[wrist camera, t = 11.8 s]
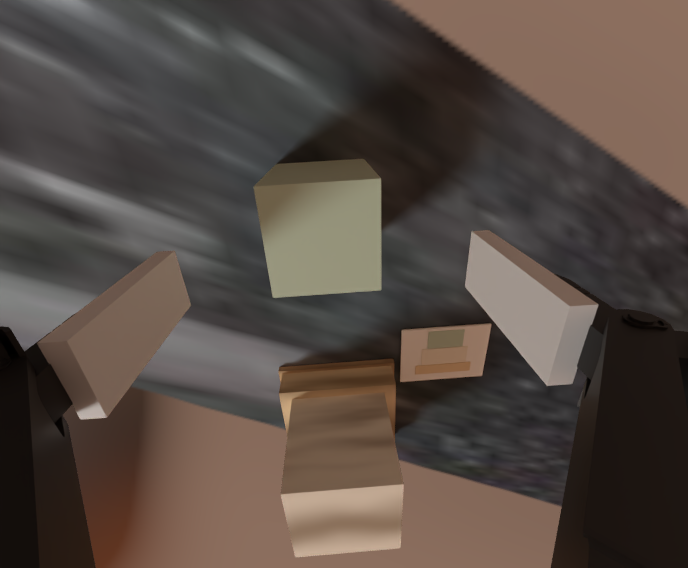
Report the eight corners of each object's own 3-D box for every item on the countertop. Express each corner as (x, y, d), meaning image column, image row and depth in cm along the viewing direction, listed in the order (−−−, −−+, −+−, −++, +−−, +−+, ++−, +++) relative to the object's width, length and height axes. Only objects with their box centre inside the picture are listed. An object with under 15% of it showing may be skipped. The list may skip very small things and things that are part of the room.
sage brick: (276, 163, 23) (253, 186, 15) (363, 158, 23) (381, 178, 16) (287, 246, 25) (272, 297, 18) (365, 241, 25) (381, 290, 18)
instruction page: (401, 329, 29) (402, 331, 29) (490, 323, 29) (491, 325, 29) (399, 380, 32) (400, 382, 32) (481, 374, 32) (482, 376, 32)
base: (279, 367, 31) (274, 391, 28) (393, 358, 31) (399, 381, 28) (293, 443, 35) (290, 470, 33) (391, 435, 36) (397, 461, 33)
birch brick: (291, 399, 28) (280, 494, 21) (384, 392, 29) (403, 484, 21) (302, 459, 32) (295, 557, 25) (383, 452, 32) (400, 548, 25)
